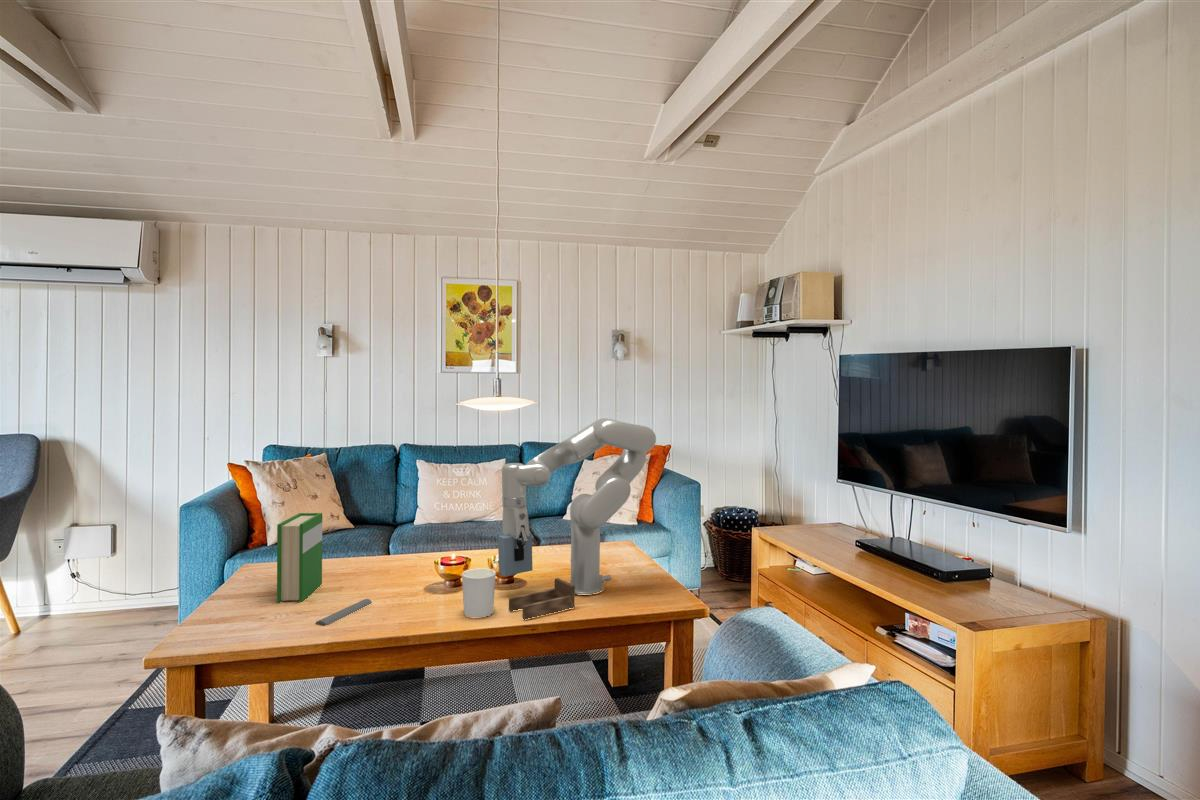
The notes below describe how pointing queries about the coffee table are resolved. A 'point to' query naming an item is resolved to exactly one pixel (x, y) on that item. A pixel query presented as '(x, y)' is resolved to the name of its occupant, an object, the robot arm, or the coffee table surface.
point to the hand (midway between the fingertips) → (515, 558)
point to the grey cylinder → (478, 592)
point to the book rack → (545, 600)
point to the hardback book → (299, 556)
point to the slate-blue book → (507, 556)
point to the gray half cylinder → (344, 612)
